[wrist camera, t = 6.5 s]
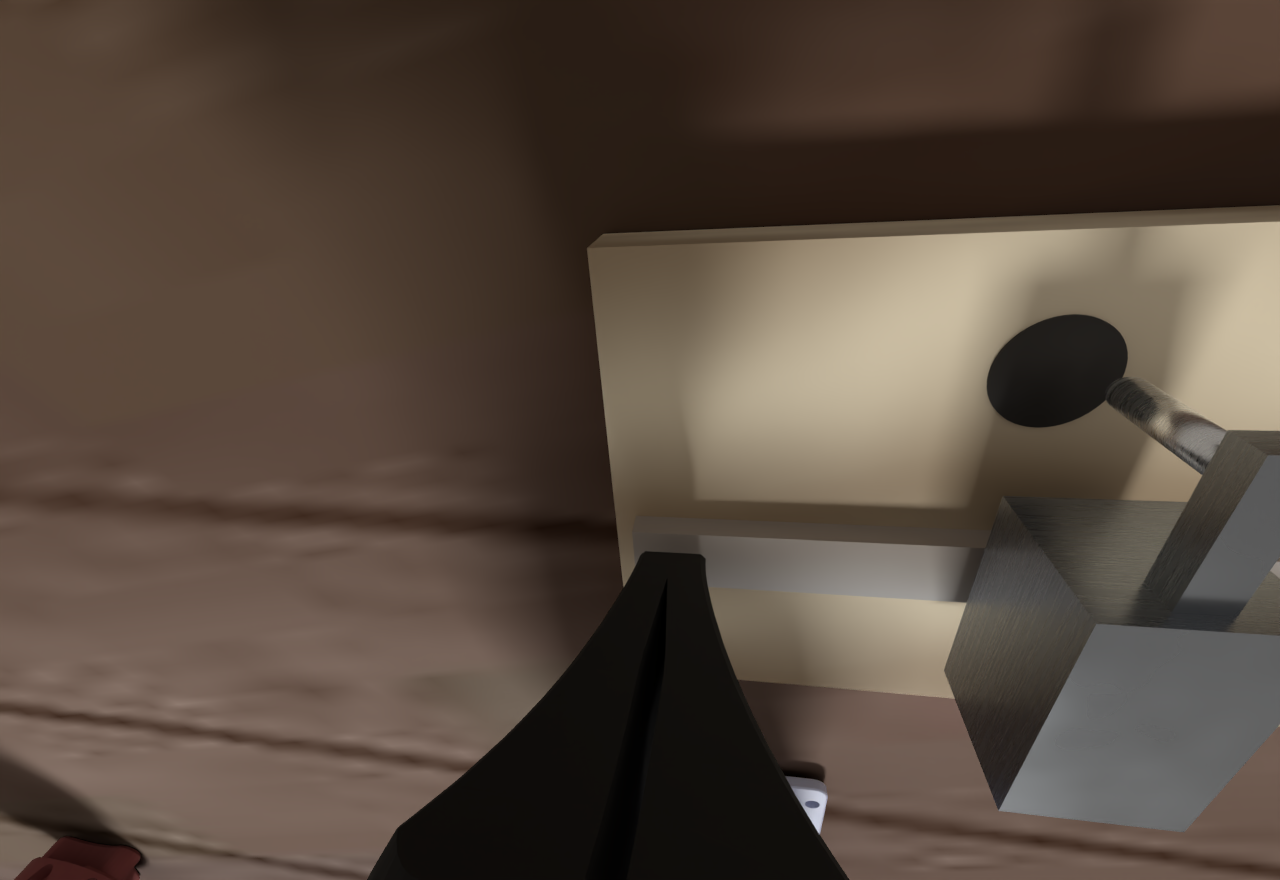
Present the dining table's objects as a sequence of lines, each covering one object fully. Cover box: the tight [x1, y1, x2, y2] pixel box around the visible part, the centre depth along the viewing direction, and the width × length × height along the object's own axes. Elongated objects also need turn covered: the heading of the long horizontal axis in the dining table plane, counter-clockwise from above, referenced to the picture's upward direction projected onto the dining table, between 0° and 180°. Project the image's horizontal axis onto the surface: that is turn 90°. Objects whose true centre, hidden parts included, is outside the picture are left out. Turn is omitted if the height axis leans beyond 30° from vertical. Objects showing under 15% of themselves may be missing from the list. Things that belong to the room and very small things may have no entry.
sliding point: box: [944, 377, 1280, 832], centre depth 9 cm, size 8×3×4 cm, turn 4°
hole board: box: [587, 205, 1280, 727], centre depth 10 cm, size 12×23×5 cm, turn 94°
